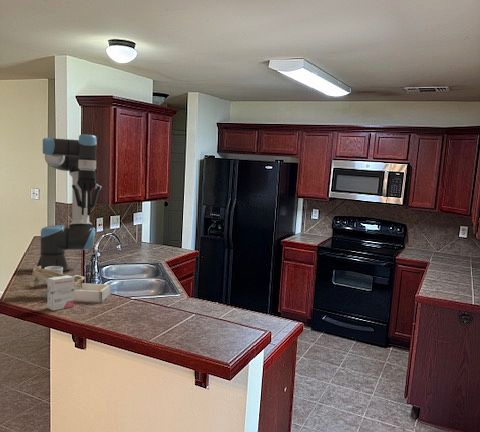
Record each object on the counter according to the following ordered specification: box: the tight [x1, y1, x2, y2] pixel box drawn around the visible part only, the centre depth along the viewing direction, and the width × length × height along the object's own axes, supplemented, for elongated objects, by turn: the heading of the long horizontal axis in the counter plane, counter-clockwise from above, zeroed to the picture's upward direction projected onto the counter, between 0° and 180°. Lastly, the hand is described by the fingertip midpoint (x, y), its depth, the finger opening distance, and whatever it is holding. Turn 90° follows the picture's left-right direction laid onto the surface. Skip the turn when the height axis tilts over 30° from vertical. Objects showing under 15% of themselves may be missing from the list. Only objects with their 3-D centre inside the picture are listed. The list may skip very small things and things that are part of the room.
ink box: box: [46, 275, 75, 311], centre depth 171 cm, size 9×5×12 cm, turn 137°
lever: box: [29, 266, 86, 290], centre depth 190 cm, size 15×17×8 cm
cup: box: [42, 266, 64, 286], centre depth 202 cm, size 11×8×8 cm
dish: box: [74, 282, 112, 304], centre depth 186 cm, size 12×12×4 cm
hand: (86, 222), depth 201 cm, fingers closed
